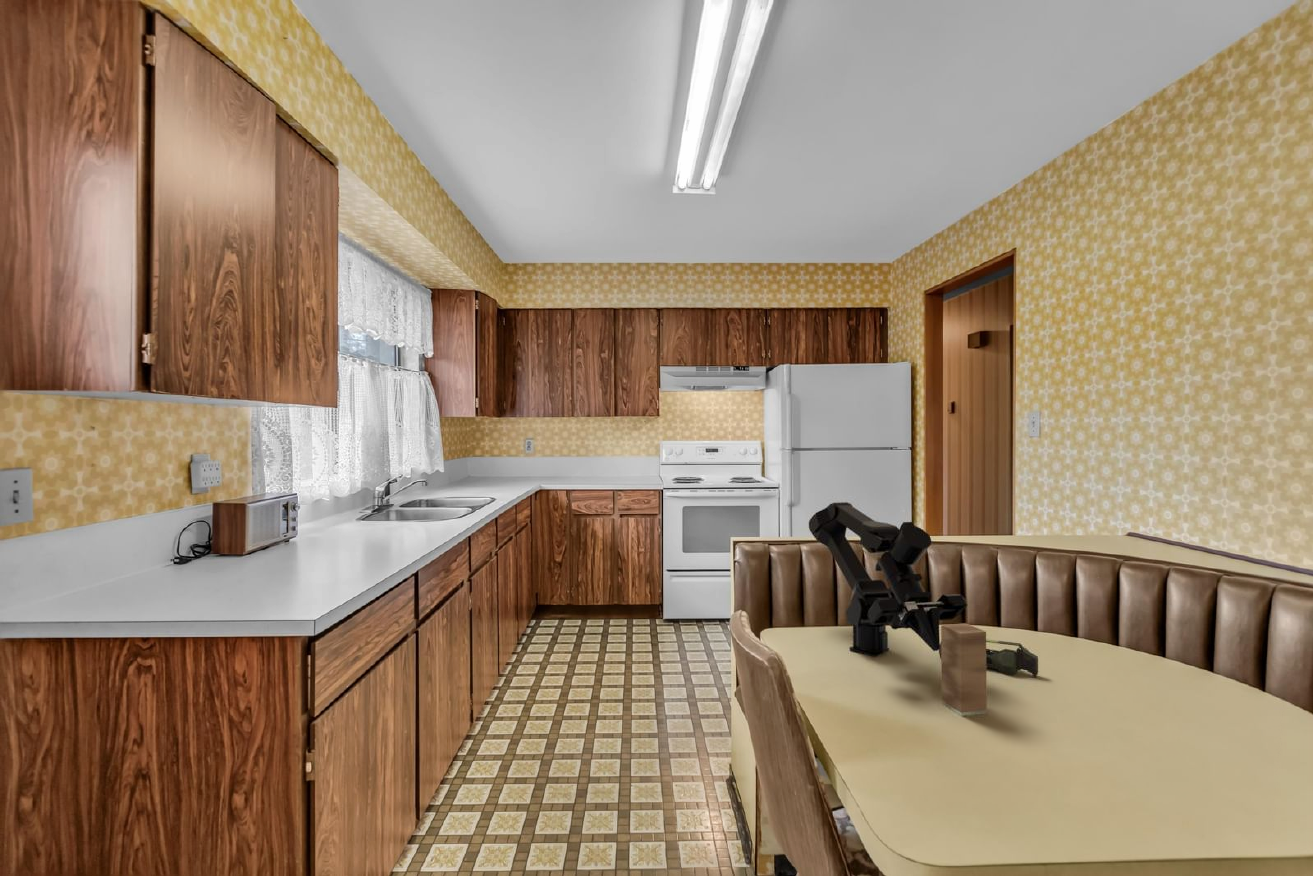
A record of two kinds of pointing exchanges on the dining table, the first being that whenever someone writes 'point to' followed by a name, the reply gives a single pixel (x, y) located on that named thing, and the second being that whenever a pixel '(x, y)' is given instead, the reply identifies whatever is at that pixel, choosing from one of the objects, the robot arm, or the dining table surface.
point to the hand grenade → (1010, 659)
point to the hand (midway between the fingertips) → (936, 649)
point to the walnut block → (964, 669)
